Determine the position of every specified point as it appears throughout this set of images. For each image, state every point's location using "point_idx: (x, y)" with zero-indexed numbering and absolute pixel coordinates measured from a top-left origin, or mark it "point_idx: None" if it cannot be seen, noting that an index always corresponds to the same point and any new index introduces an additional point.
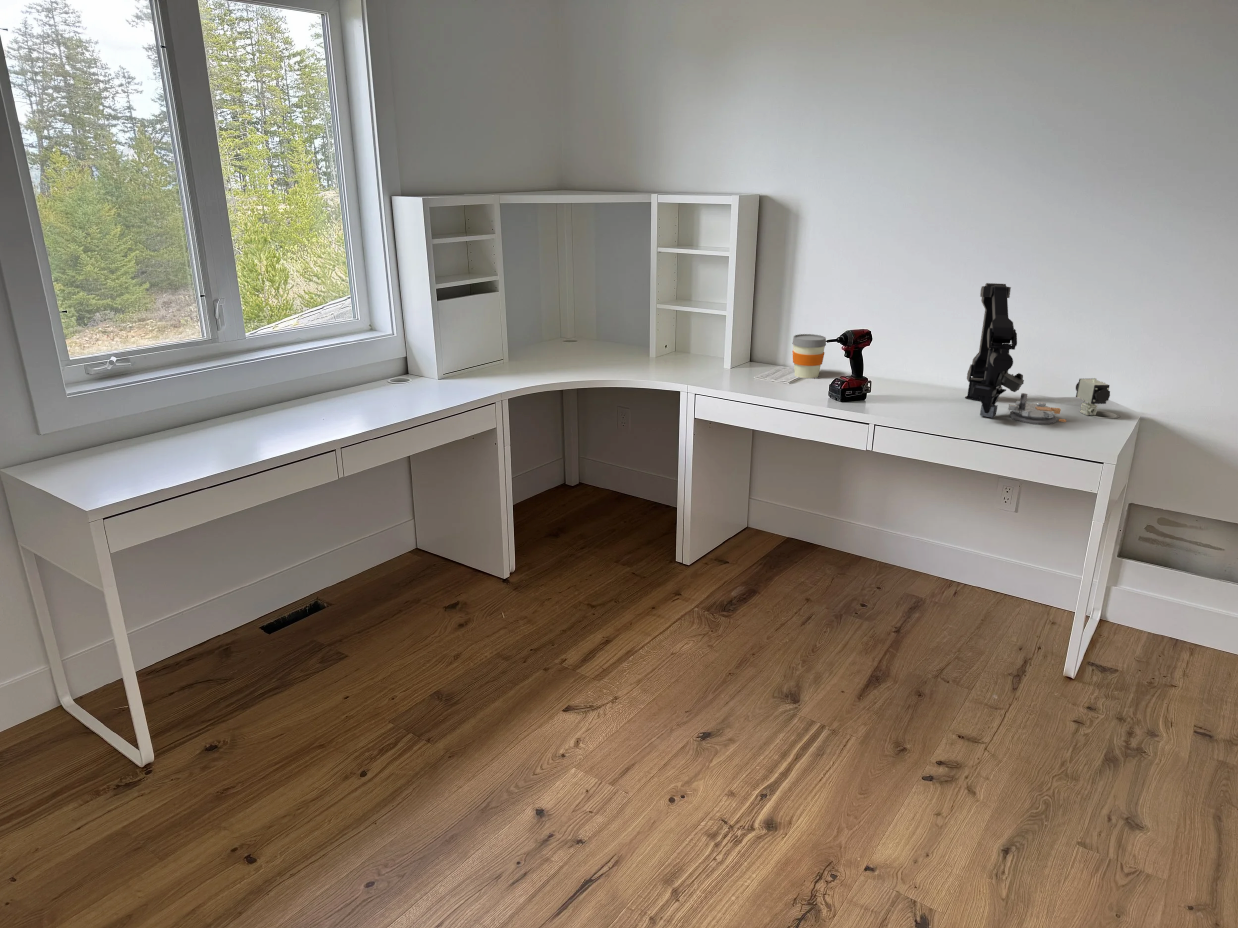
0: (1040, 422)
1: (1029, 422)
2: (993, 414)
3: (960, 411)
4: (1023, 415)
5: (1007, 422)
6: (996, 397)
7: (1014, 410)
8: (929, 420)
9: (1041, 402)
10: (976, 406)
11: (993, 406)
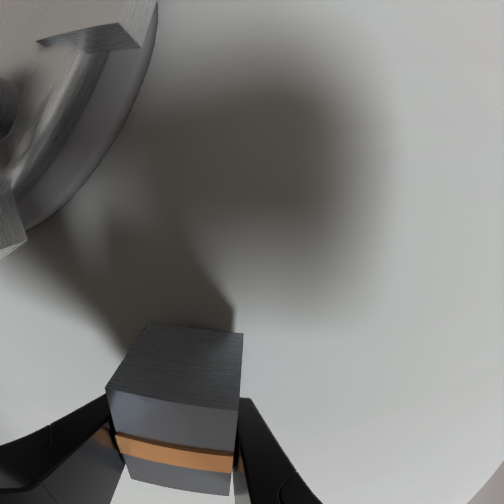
0: None
1: (156, 13)
2: (225, 348)
3: None
4: (145, 30)
5: (251, 175)
6: (56, 478)
7: (12, 187)
8: (431, 490)
9: None
10: (31, 426)
11: (205, 422)
